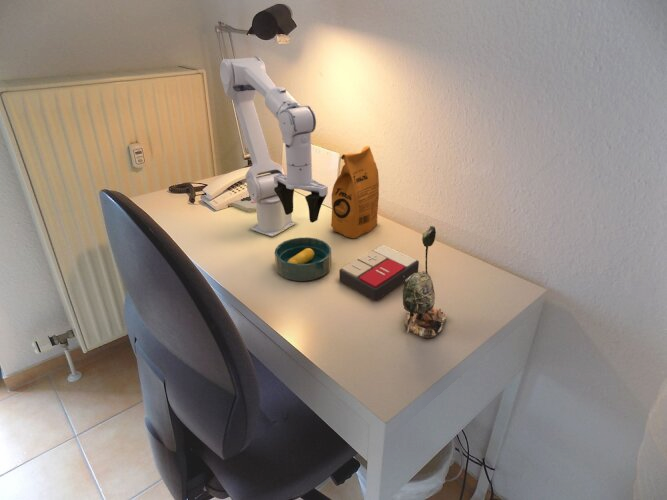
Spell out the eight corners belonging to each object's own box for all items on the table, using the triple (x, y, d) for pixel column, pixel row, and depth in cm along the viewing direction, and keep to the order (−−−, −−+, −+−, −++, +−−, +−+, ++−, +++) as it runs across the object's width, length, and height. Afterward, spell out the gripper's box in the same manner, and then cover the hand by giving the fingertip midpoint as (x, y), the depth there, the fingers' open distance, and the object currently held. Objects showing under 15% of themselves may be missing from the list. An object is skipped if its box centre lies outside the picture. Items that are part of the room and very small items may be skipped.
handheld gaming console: (229, 200, 133) (264, 186, 144) (230, 205, 134) (265, 190, 144) (251, 208, 128) (286, 193, 138) (251, 213, 129) (286, 198, 139)
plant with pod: (385, 326, 83) (392, 234, 74) (425, 304, 89) (436, 216, 80) (416, 349, 78) (428, 253, 68) (456, 324, 84) (473, 232, 74)
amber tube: (310, 258, 106) (305, 247, 106) (319, 256, 104) (314, 244, 104) (285, 275, 99) (279, 264, 99) (293, 273, 97) (288, 262, 97)
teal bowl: (299, 248, 110) (298, 232, 108) (341, 263, 104) (341, 246, 102) (264, 270, 101) (263, 254, 99) (308, 288, 94) (308, 271, 92)
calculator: (338, 267, 95) (382, 241, 104) (338, 282, 97) (382, 256, 106) (375, 287, 88) (420, 258, 97) (375, 303, 91) (418, 273, 99)
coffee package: (325, 230, 119) (324, 151, 108) (355, 216, 127) (357, 141, 116) (353, 241, 113) (355, 160, 102) (382, 226, 121) (386, 149, 110)
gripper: (263, 161, 98) (267, 215, 105) (314, 173, 91) (315, 230, 98) (283, 153, 104) (286, 205, 110) (332, 164, 96) (333, 219, 103)
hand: (301, 217), depth 104 cm, fingers open, 7 cm apart
